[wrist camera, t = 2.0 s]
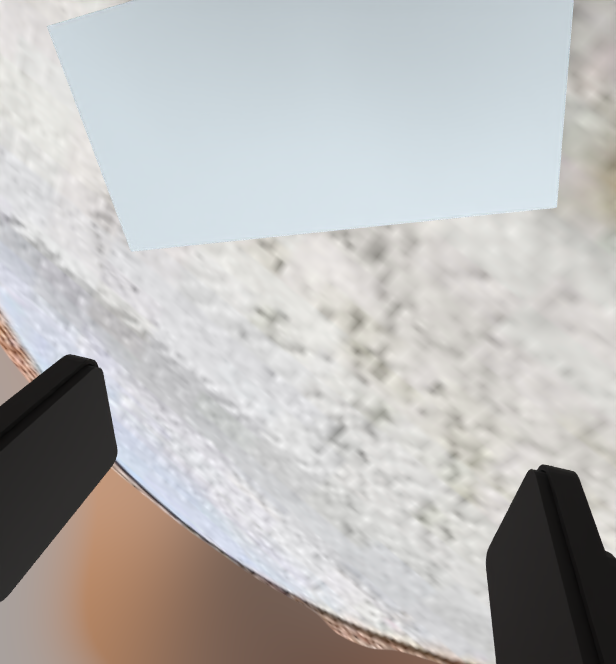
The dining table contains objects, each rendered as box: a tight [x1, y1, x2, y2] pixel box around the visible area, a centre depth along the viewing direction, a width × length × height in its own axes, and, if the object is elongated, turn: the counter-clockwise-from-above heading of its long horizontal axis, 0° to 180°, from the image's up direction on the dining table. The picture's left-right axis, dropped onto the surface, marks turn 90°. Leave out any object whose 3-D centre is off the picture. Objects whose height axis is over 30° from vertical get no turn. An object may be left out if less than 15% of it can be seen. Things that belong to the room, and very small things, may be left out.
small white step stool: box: [47, 0, 574, 251], centre depth 23 cm, size 20×10×12 cm, turn 101°
